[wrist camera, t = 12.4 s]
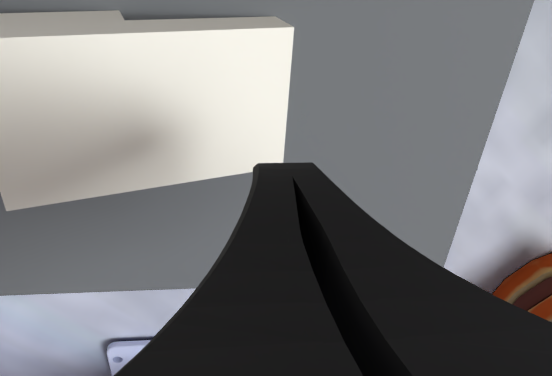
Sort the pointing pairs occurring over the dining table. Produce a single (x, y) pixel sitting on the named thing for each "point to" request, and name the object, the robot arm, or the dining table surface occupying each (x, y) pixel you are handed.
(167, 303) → the dining table surface
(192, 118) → the domino
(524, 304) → the hamburger
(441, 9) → the mat
